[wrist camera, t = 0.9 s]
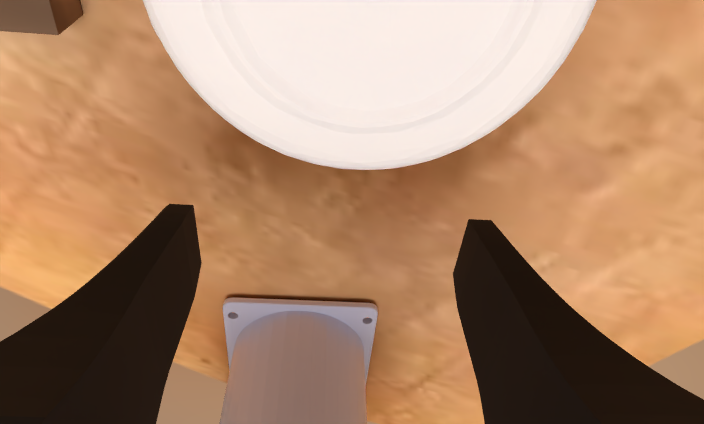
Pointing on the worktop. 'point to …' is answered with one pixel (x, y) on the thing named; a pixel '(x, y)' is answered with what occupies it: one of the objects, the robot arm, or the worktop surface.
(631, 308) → the worktop surface
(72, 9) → the brown square frame
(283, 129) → the spice jar
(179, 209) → the robot arm
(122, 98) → the worktop surface
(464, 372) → the worktop surface
